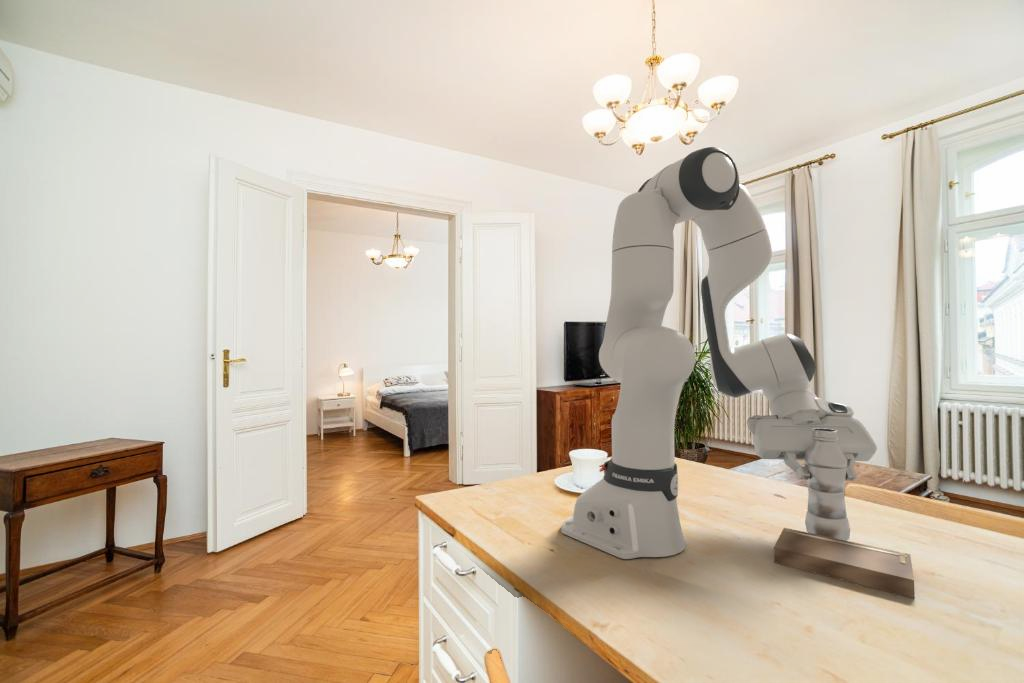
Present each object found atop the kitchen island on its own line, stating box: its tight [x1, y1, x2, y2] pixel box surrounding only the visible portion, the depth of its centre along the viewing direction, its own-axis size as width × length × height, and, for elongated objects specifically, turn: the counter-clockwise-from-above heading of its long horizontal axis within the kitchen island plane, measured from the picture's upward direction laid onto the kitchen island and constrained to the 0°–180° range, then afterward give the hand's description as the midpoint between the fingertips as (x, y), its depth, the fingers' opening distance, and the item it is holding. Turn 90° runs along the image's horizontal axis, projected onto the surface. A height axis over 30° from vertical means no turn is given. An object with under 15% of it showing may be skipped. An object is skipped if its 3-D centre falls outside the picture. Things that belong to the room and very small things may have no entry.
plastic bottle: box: [803, 428, 851, 541], centre depth 81 cm, size 6×7×20 cm
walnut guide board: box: [773, 527, 916, 599], centre depth 71 cm, size 17×10×3 cm, turn 51°
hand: (827, 478), depth 80 cm, fingers closed on plastic bottle, 6 cm apart
